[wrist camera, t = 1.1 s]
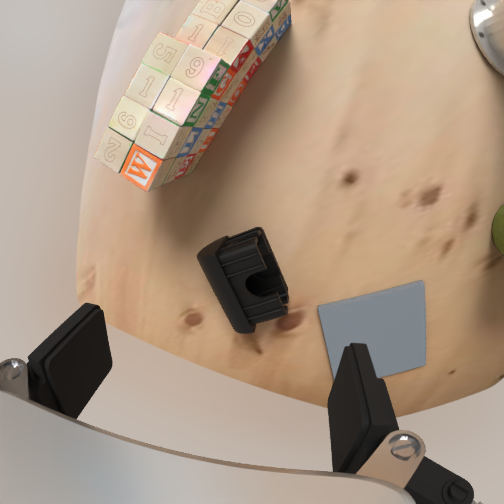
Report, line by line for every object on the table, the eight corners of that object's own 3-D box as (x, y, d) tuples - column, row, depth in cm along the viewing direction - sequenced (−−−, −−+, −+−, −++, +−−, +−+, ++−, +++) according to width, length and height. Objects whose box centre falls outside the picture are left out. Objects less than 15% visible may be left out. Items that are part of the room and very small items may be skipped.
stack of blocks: (245, 0, 28) (221, -51, 16) (292, 22, 28) (288, -26, 17) (150, 148, 36) (91, 158, 24) (192, 174, 36) (145, 194, 25)
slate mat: (421, 279, 36) (424, 283, 35) (423, 360, 41) (425, 364, 40) (317, 305, 40) (317, 309, 39) (335, 382, 44) (335, 387, 43)
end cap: (206, 241, 39) (188, 263, 32) (259, 221, 37) (251, 240, 31) (239, 309, 42) (229, 339, 35) (290, 293, 40) (288, 323, 33)
